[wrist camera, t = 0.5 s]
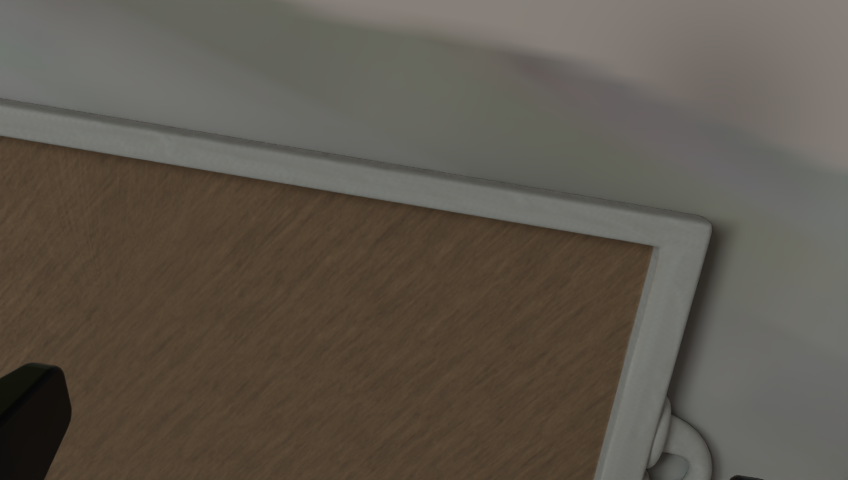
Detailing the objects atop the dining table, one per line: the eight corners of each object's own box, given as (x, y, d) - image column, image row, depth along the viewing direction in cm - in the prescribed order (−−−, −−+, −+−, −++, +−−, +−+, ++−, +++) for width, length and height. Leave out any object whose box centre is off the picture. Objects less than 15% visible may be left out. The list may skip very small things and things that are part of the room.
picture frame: (-108, 86, 24) (798, 238, 23) (-72, 83, 25) (778, 225, 25) (-84, 564, 29) (652, 697, 28) (-56, 537, 30) (643, 663, 30)
